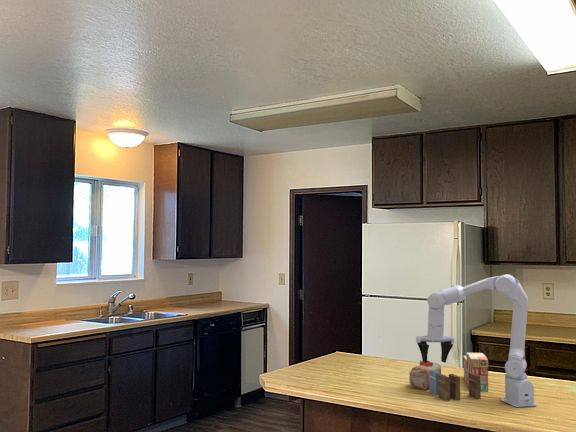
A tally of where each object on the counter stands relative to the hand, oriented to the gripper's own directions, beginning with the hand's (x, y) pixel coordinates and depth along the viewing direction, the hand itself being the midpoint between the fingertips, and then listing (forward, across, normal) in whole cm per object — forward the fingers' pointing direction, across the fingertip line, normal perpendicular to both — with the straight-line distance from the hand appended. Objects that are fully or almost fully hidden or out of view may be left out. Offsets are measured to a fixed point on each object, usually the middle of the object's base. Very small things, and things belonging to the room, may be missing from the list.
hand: (434, 362), depth 211 cm
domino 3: (+10, -12, +9) cm, 18 cm away
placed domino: (+11, 0, +2) cm, 11 cm away
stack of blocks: (+11, -22, -8) cm, 26 cm away
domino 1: (+11, 0, +9) cm, 14 cm away
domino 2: (+11, -4, +9) cm, 14 cm away
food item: (+12, -2, -9) cm, 15 cm away
